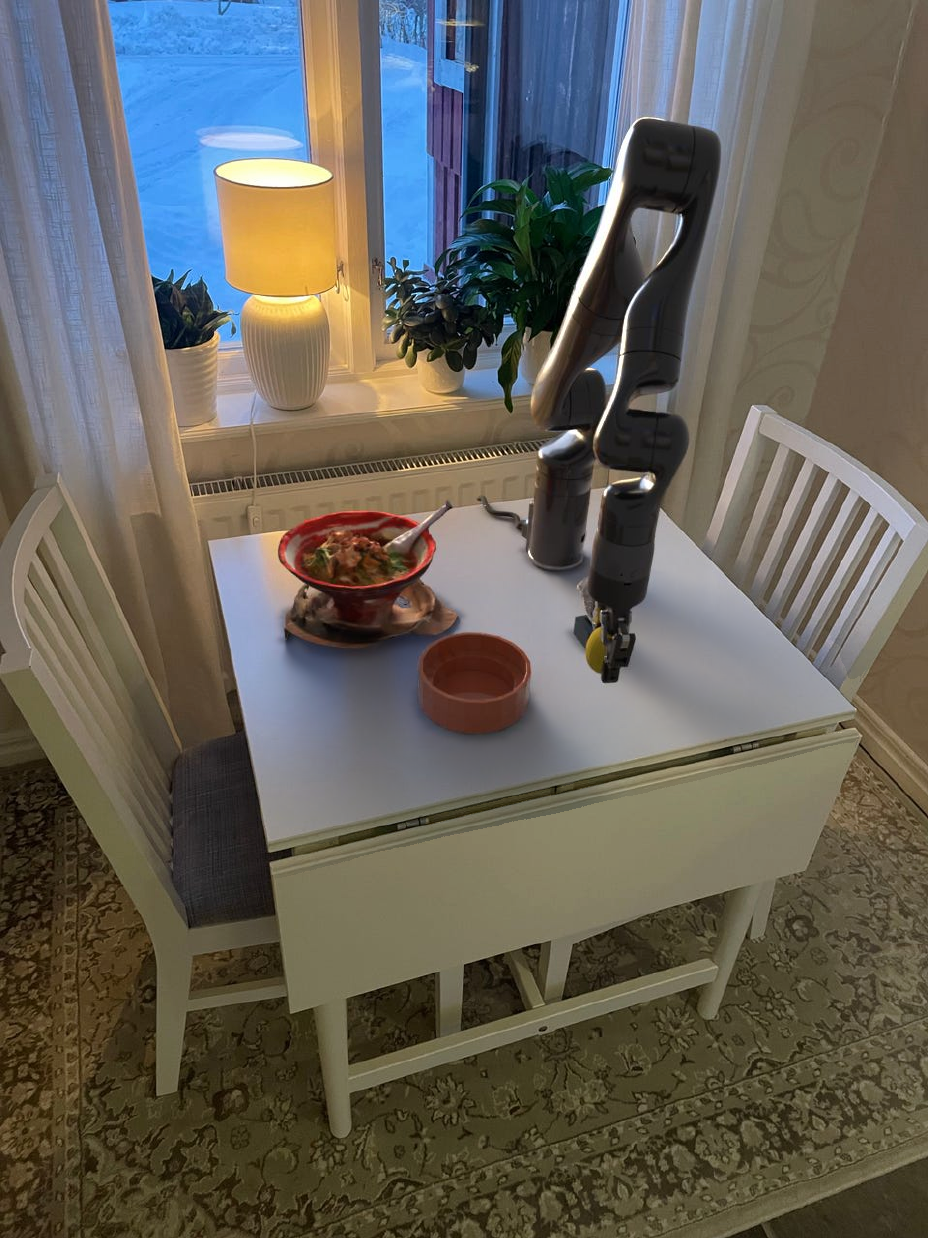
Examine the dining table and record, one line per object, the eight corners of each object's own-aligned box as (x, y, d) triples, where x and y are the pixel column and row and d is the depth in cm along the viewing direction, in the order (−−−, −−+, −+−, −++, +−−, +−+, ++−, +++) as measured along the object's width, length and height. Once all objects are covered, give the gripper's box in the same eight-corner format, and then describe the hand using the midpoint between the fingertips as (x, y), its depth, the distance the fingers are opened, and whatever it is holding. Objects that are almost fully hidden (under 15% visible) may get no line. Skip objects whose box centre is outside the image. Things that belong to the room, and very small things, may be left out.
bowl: (397, 689, 131) (397, 656, 128) (483, 652, 138) (485, 620, 135) (461, 752, 121) (462, 718, 118) (550, 709, 129) (553, 675, 125)
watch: (599, 619, 146) (608, 560, 140) (624, 649, 140) (634, 589, 134) (567, 626, 145) (574, 566, 138) (590, 656, 138) (599, 595, 132)
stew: (433, 559, 159) (434, 474, 150) (478, 641, 141) (482, 550, 131) (268, 583, 152) (258, 495, 142) (292, 673, 133) (283, 579, 124)
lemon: (621, 690, 124) (630, 643, 119) (580, 683, 125) (587, 636, 120) (624, 664, 129) (632, 617, 124) (584, 657, 129) (591, 611, 125)
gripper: (580, 532, 121) (566, 634, 131) (604, 596, 110) (587, 703, 120) (636, 531, 122) (618, 633, 132) (666, 594, 111) (644, 701, 121)
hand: (604, 666), depth 126 cm, fingers closed on lemon, 5 cm apart
